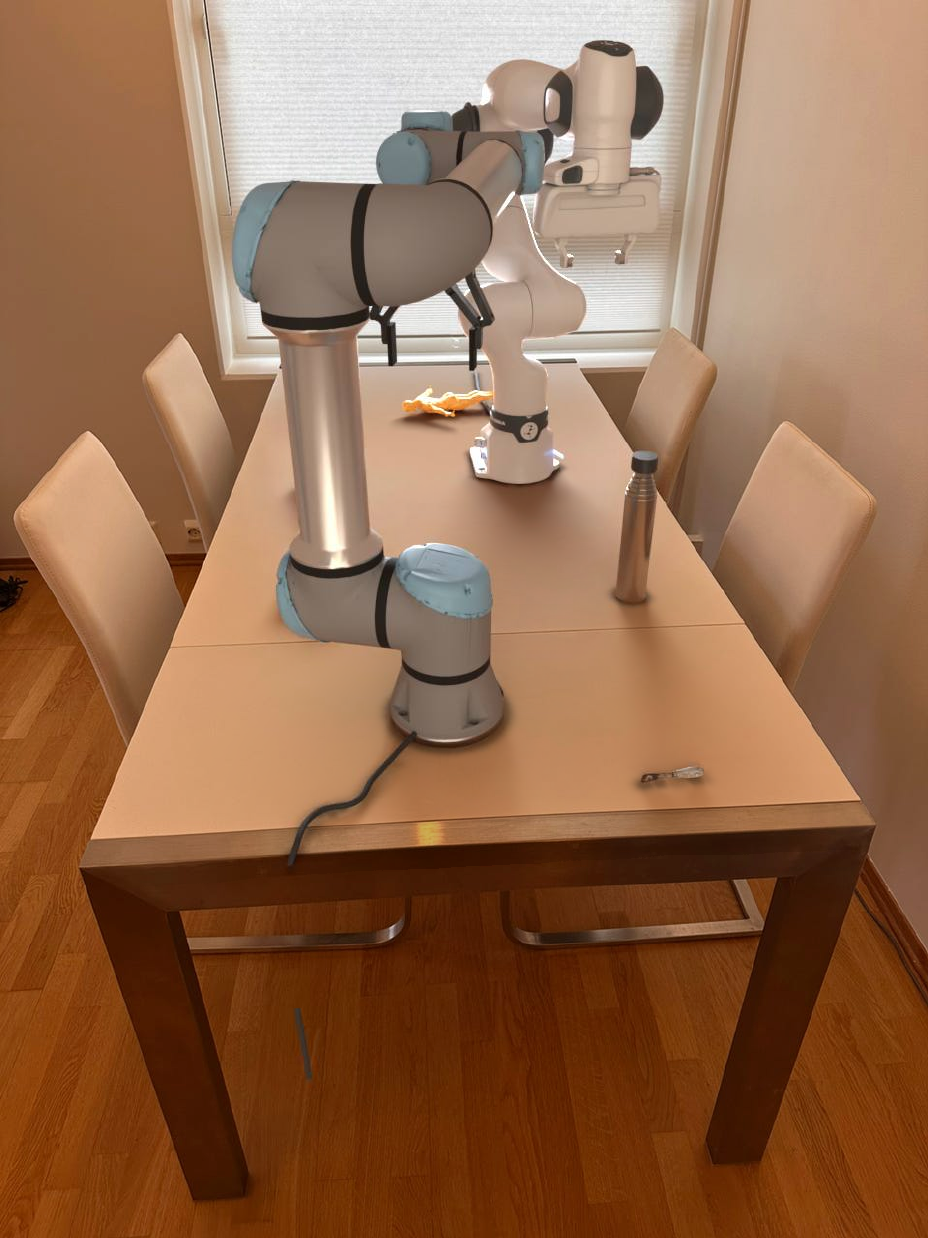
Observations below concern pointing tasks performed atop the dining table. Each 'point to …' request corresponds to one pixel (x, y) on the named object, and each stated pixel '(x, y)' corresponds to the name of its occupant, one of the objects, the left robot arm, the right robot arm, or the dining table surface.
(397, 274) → the left robot arm
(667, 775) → the putty knife
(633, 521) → the bottle
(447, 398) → the human figure
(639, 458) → the cap
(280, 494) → the dining table surface
